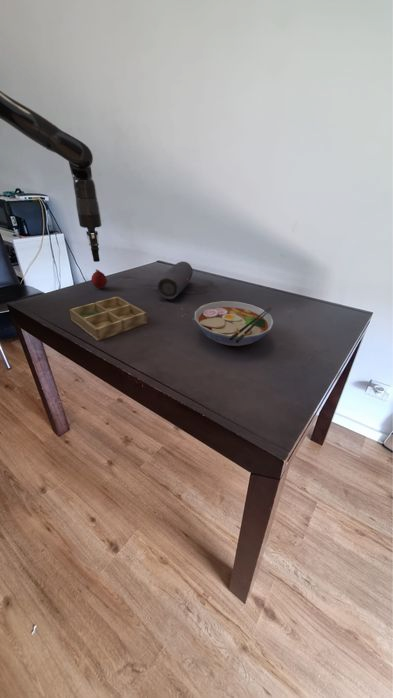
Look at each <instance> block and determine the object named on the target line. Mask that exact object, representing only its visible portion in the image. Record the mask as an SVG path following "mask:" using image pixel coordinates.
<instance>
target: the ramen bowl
mask: <svg viewBox="0 0 393 698" xmlns="http://www.w3.org/2000/svg"><path fill="white" fill-rule="evenodd" d="M272 308H273V307H268V308H267V309H266V310H264V309H263V308H260V307H259V306H255V305H253V304H250V303H245V302H242V301H241V302H240V301H232V300H231V301H228V300H222V301H214V302H210V303H205V304H203V305H201V306H199V307H198V308H197V309H196V310H195V311H194V320H195V323H196V324H197V326H198V327H199V329H200V330H201V331H202V332H203V334H204V335H205V336H206V337H207V338H209V339H211V340H212V341H214V342H216V343H218V344H222V345H226V346H233V347H241V346H245V345H250V344H253V343H255V342H257V341H258V340H260V339H262V338H263V337H265V336H266V335H267V334H268V333H269V331H270V330H271V329H272V327H273V324H274V320H273V317H272V315H271V314H270V313H269V312H270V311H271V310H272Z"/></svg>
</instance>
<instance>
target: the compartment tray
mask: <svg viewBox="0 0 393 698" xmlns="http://www.w3.org/2000/svg"><path fill="white" fill-rule="evenodd" d="M68 311H69V315H70V319H71V321H72V322H73V323H74V324H76V325H77V326H79V327H80V329H82V330H83V331H85V332H86V333H87V334H88V335H90V336H91V337H92V338H93V339H94V340H96V341H97V342H99V341H102V340H105V339H107V338H110V337H113V336H117V335H119V334H121V333H124V332H127V331H130V330H133V329H135V328H137V327H141V326H144V325H146V324H148V315H147V314H148V313H147V311H144V310H143V309H141V308H139V307H138V306H136V305H134V304H132V303H131V302H130V301H129V302H128V301H127V300H125V299H124V298H121V297H120V296H113V297H110V298H106V299H102V300H99V301H95V302H92V303H87V304H84V305H81V306H76V307H73V308H69V309H68Z"/></svg>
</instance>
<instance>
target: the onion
mask: <svg viewBox="0 0 393 698" xmlns="http://www.w3.org/2000/svg"><path fill="white" fill-rule="evenodd" d="M90 281H91V283H92V285H93V286H94V287H96V288H97V289H99V290H102V289H104V287H105V286H106V285H107V283H108V279H107V276H106V275H105V273H104V272H102V271H100V269H95V272H93V273H92V275H91V278H90Z"/></svg>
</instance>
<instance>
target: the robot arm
mask: <svg viewBox="0 0 393 698" xmlns="http://www.w3.org/2000/svg"><path fill="white" fill-rule="evenodd" d="M0 119H1V120H2V121H3V122H5V123H7V124H8V125H9V126H11V127H12V128H14V129H16V131H18V132H20V133H21V134H22V135H24V136H26V137H27V138H29V139H30V140H31V141H33V142H35V143H36V144H38V145H39V146H41V147H43V148H45V149H46V150H48V151H50V152H52V153H55V154H57V155H58V156H60V157H61V158H63V159H64V160H66V161H68V165H69V170H70V173H71V177H72V182H73V190H74V196H75V206H76V211H77V212H76V213H77V218H78V223H79V226H80V227H81V228H83V229H87V231H86V232H85V233H86V238H87V242H88V245H89V246H90V251H91V255H92V260H93V262H94V263H96V262H97V263H98V262H101V259H100V254H99V253H100V251H99V250H100V248H99V245H100V243H99V232H98V231H97V230H96V228H101V227H102V219H101V211H100V205H99V199H98V195H97V188H96V182H95V180H94V179H93V173H92V165H93V162H94V156H93V155H94V154H93V152H92V150H91V149H90V147H89V146H88V145H87V144H86V143H84V142H83V141H81V140H79V139H78V138H76V137H74V136H73V135H70V134H69V133H67V132H65V131H64V130H62V129H61V128H59V127H58V126H57V125H56V124H54V123H53V122H51V121H49V120H48V119H47V118H45V117H44V116H42V115H41V114H39V113H37V112H36V111H34V110H33V109H31V108H30V107H28V106H26V105H24V104H23V103H21V102H19V101H17V100H15V99H14V98H12V97H10V96H9V95H7V94H6V93H4V92H3V91H1V90H0Z"/></svg>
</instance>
